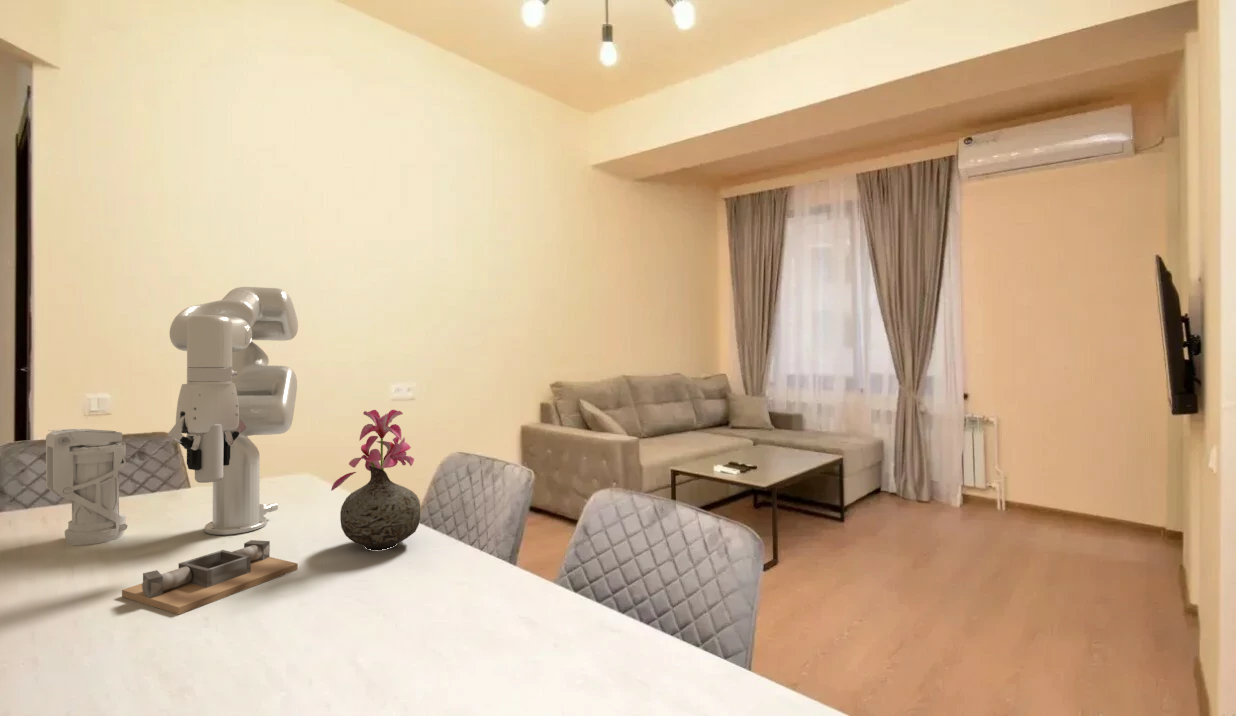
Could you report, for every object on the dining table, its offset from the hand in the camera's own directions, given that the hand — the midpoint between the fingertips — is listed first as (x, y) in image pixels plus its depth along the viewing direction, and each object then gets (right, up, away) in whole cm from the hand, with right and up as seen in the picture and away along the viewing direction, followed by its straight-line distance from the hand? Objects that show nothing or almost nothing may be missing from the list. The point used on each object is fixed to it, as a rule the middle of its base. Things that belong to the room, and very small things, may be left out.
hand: (208, 466), depth 121 cm
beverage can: (0, -3, 0) cm, 3 cm away
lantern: (-36, -19, +13) cm, 43 cm away
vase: (+29, -20, +12) cm, 38 cm away
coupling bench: (+7, -20, -9) cm, 23 cm away
